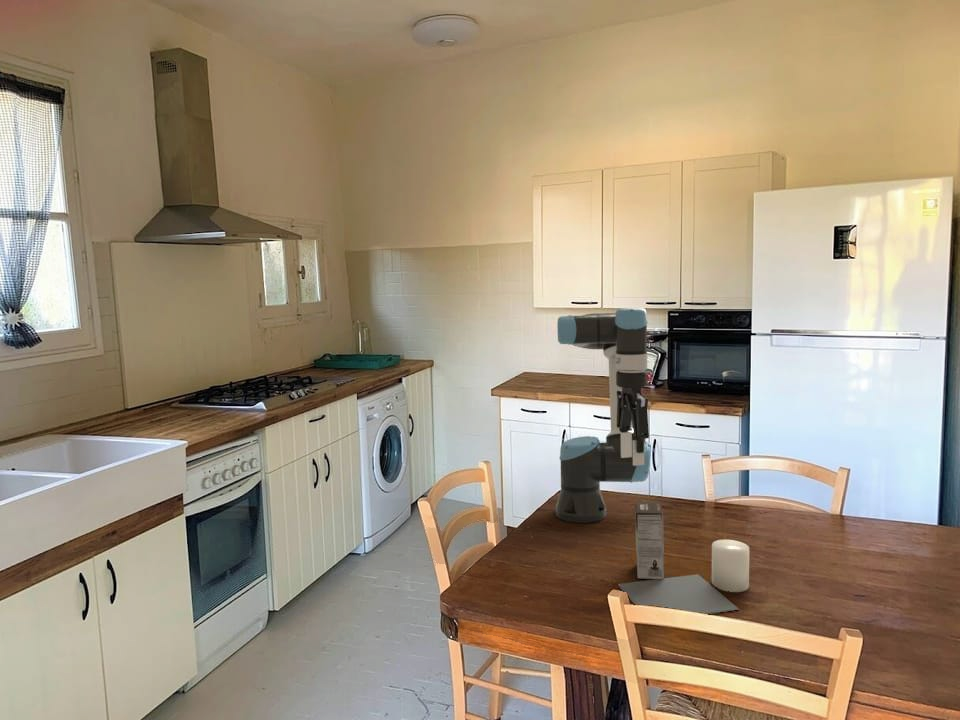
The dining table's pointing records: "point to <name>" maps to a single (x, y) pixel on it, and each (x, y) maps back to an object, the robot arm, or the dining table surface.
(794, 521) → the dining table surface
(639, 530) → the coffee box
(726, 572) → the white rounded cylinder
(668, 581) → the mat
